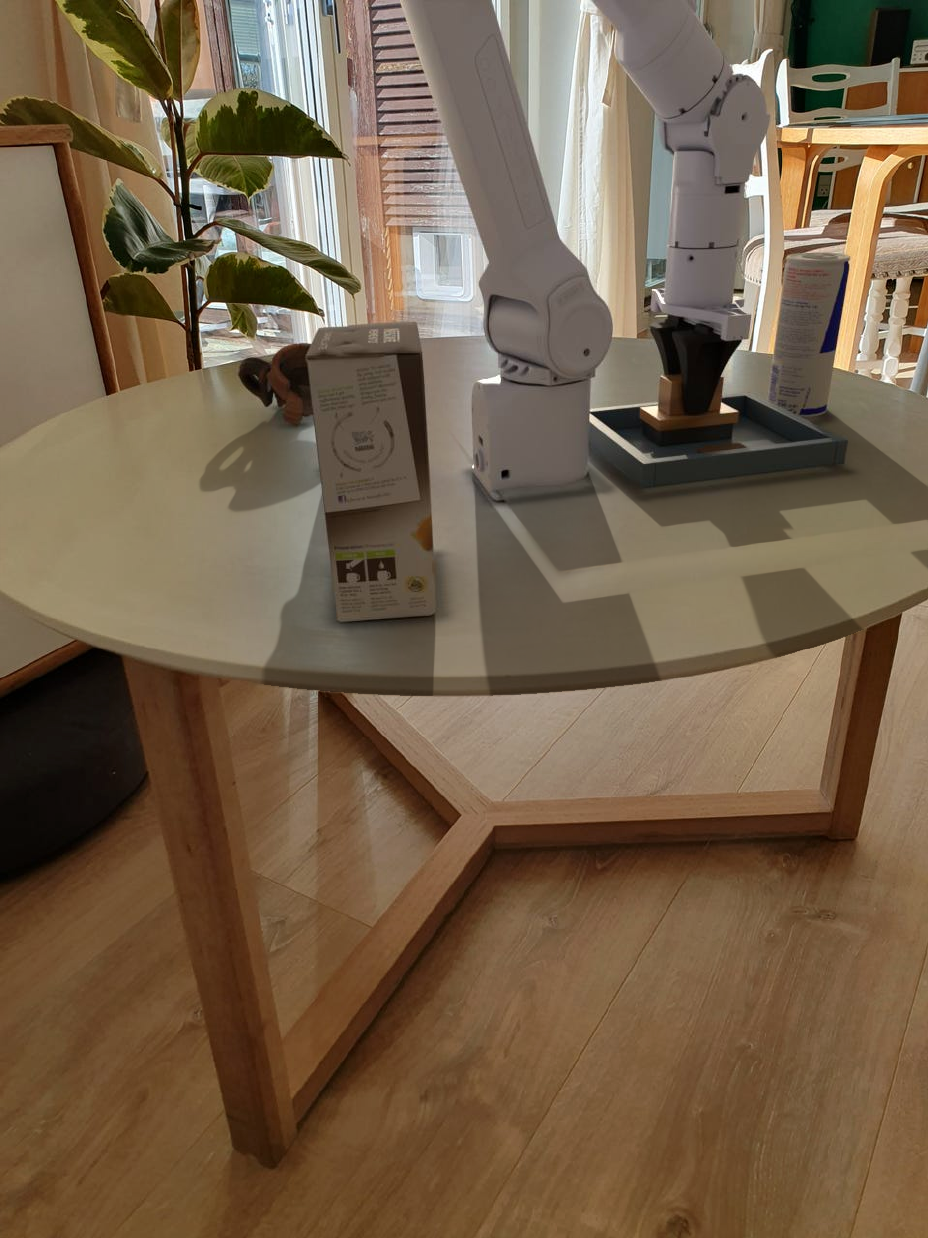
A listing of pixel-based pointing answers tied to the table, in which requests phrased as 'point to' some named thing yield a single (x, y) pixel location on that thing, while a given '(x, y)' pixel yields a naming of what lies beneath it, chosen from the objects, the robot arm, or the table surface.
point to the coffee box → (374, 468)
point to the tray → (760, 427)
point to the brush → (686, 417)
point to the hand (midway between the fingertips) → (688, 407)
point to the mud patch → (720, 447)
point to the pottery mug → (281, 381)
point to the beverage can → (808, 331)
